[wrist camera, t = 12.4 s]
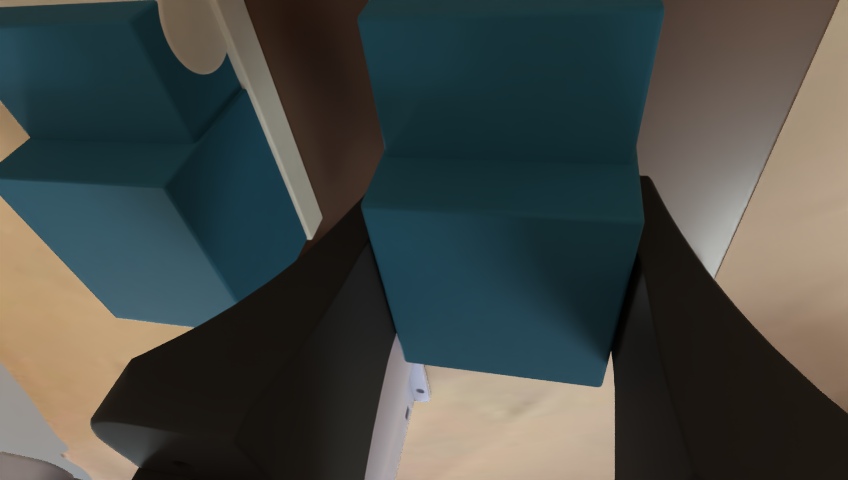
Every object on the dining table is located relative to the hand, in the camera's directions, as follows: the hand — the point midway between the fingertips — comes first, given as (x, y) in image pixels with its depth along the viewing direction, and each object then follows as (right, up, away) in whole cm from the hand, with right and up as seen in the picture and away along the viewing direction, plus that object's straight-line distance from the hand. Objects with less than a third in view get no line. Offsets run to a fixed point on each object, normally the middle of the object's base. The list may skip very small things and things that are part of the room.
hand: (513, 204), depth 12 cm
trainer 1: (-8, +3, +2) cm, 9 cm away
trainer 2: (0, +2, 0) cm, 2 cm away
